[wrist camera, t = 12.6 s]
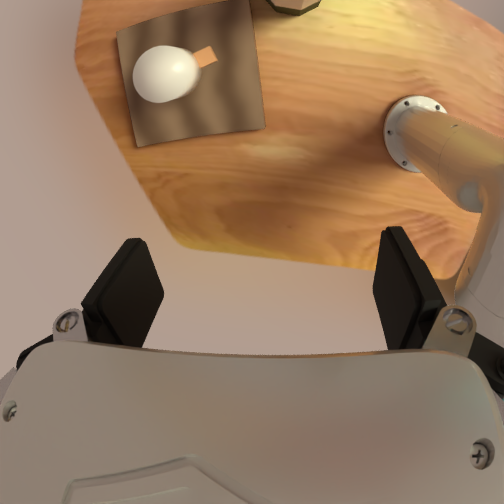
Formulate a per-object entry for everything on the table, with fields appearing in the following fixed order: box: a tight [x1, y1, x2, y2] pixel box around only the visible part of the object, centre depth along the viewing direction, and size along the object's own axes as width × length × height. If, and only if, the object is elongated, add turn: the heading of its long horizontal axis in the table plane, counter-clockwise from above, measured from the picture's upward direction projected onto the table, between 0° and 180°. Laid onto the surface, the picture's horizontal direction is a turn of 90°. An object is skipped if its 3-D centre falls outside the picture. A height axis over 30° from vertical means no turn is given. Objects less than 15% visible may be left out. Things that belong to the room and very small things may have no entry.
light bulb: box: [133, 46, 218, 103], centre depth 28 cm, size 7×9×5 cm
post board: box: [116, 0, 266, 147], centre depth 33 cm, size 20×20×6 cm
